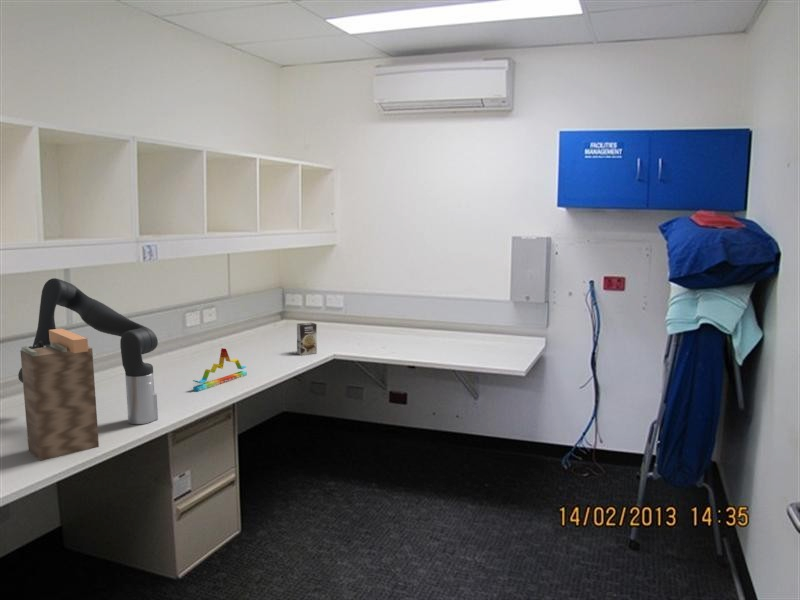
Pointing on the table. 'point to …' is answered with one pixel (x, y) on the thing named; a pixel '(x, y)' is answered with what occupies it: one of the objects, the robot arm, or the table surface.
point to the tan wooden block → (69, 340)
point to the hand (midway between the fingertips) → (56, 341)
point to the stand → (59, 400)
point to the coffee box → (306, 338)
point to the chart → (224, 379)
